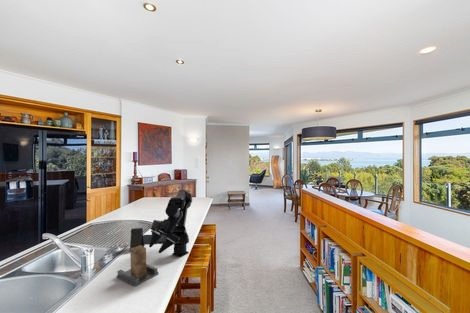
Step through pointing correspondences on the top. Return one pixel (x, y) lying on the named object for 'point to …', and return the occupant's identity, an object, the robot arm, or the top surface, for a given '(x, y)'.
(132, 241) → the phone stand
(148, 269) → the bottom track
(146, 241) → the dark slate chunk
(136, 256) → the walnut block
